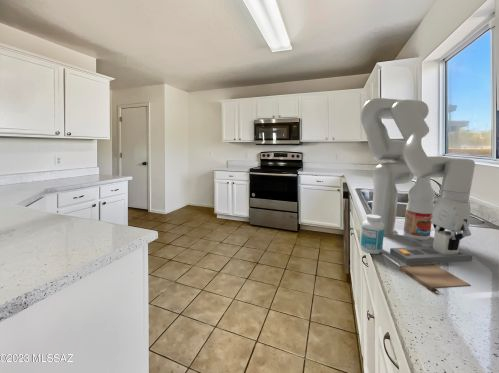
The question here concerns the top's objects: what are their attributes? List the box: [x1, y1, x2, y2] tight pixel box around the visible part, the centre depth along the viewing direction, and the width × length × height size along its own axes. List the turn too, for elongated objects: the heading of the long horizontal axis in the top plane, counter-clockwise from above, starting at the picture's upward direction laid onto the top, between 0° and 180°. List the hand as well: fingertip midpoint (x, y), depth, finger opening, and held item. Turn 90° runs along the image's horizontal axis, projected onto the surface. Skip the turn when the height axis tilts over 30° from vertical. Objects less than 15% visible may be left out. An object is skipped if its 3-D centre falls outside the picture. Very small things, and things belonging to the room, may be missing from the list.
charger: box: [432, 230, 461, 255], centre depth 85 cm, size 4×6×9 cm
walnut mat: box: [399, 263, 471, 292], centre depth 74 cm, size 12×12×1 cm
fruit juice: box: [402, 176, 436, 241], centre depth 103 cm, size 9×9×28 cm
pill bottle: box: [359, 214, 385, 255], centre depth 91 cm, size 8×7×14 cm
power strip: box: [389, 245, 474, 265], centre depth 85 cm, size 8×24×4 cm, turn 96°
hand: (445, 246), depth 86 cm, fingers closed on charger, 4 cm apart
